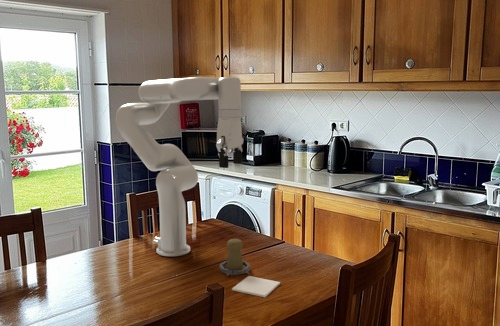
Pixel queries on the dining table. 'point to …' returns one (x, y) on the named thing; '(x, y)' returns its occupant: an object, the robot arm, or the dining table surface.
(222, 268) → the ring stand
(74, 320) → the dining table surface
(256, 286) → the plate
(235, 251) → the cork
